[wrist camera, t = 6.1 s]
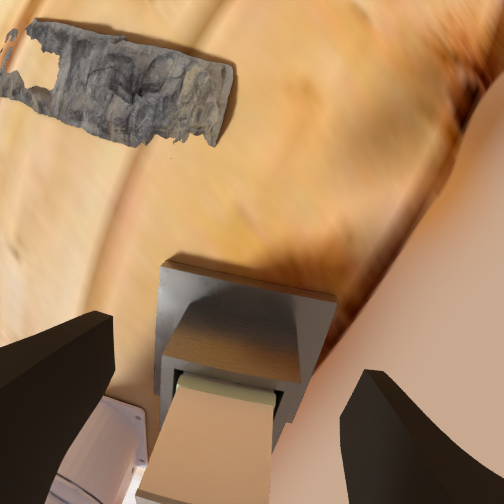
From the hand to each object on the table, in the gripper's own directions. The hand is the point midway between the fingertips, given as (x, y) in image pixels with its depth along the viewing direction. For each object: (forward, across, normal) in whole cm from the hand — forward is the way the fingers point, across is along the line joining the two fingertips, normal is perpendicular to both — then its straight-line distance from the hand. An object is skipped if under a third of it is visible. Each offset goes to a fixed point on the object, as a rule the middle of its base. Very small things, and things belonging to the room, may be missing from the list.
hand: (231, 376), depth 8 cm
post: (+6, 0, +6) cm, 9 cm away
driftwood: (+11, +13, -10) cm, 19 cm away
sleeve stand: (+10, 0, +6) cm, 12 cm away
